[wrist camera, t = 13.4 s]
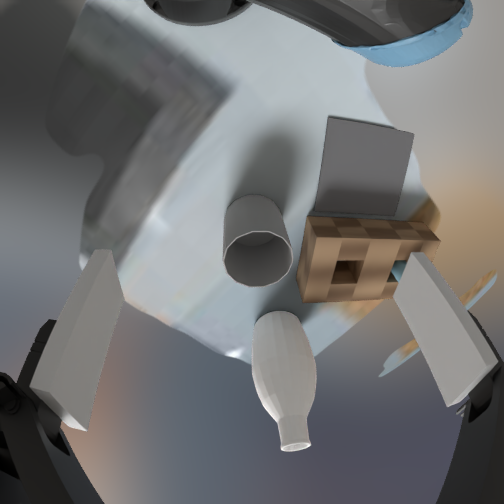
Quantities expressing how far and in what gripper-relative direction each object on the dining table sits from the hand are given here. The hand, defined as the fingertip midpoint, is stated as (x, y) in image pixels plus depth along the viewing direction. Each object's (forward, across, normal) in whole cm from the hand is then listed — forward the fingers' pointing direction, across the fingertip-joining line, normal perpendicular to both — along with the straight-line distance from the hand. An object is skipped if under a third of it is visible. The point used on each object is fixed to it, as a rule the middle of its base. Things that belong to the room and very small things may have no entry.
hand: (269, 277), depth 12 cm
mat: (+29, +18, -4) cm, 34 cm away
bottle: (+29, +8, -36) cm, 47 cm away
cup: (+29, +2, -13) cm, 32 cm away
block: (+29, +21, -18) cm, 40 cm away
